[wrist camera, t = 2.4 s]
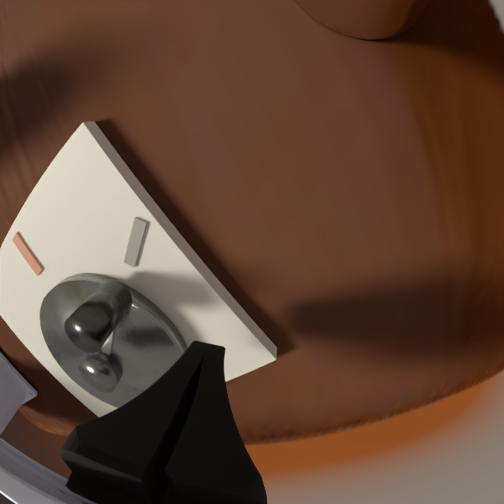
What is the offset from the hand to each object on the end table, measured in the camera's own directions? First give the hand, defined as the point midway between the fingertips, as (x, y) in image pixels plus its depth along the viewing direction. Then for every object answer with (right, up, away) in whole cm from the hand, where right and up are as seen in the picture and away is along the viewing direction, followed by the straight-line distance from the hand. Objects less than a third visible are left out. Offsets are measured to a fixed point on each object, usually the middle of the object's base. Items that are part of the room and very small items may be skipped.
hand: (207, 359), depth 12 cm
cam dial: (-7, -2, +4) cm, 8 cm away
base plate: (-8, +1, +4) cm, 9 cm away
